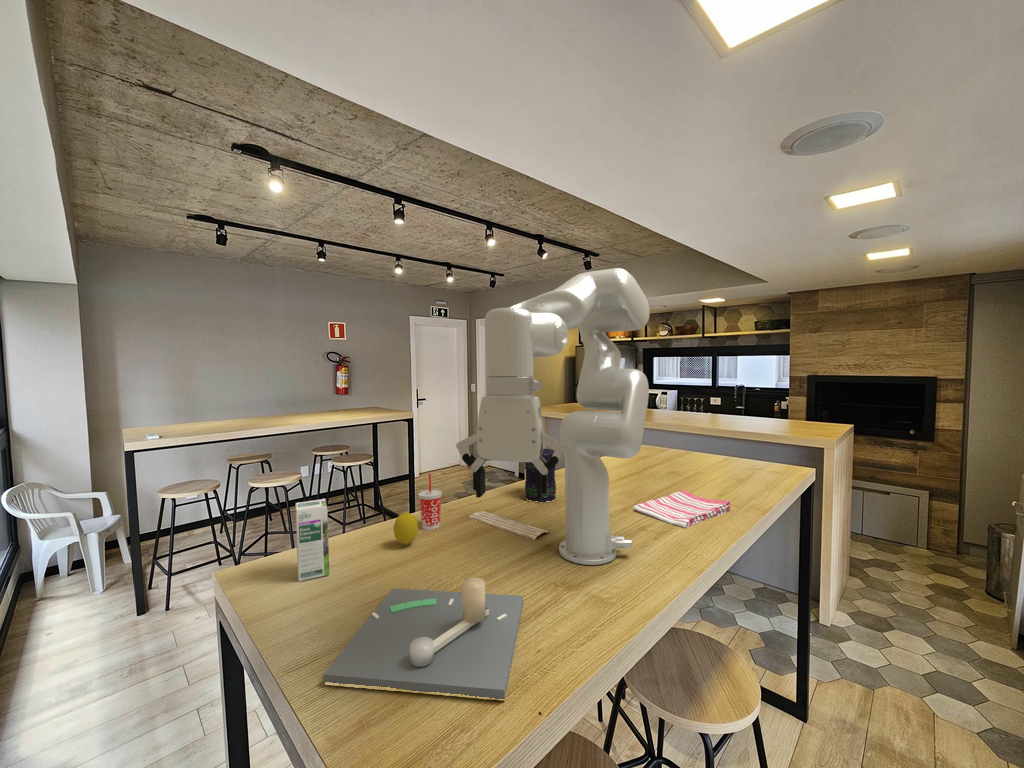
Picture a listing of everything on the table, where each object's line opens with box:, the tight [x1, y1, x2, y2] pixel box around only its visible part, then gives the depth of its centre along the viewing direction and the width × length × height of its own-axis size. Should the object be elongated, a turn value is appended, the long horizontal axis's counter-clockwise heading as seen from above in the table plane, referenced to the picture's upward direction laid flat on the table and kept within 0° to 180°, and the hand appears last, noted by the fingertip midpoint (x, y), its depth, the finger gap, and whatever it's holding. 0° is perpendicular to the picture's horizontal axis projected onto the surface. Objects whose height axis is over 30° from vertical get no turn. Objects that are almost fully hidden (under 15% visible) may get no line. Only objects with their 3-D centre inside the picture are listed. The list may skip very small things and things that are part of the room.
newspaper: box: [468, 510, 551, 541], centre depth 113 cm, size 24×7×2 cm, turn 48°
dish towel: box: [633, 490, 732, 529], centre depth 122 cm, size 17×23×4 cm
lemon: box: [393, 511, 419, 547], centre depth 100 cm, size 6×6×8 cm
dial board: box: [323, 588, 524, 700], centre depth 65 cm, size 24×22×2 cm
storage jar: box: [524, 448, 557, 502], centre depth 135 cm, size 10×10×15 cm
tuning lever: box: [410, 577, 489, 667], centre depth 63 cm, size 15×4×6 cm, turn 142°
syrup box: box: [295, 498, 330, 583], centre depth 87 cm, size 6×6×14 cm
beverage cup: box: [418, 473, 443, 531], centre depth 112 cm, size 6×6×14 cm
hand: (510, 496), depth 67 cm, fingers open, 9 cm apart
